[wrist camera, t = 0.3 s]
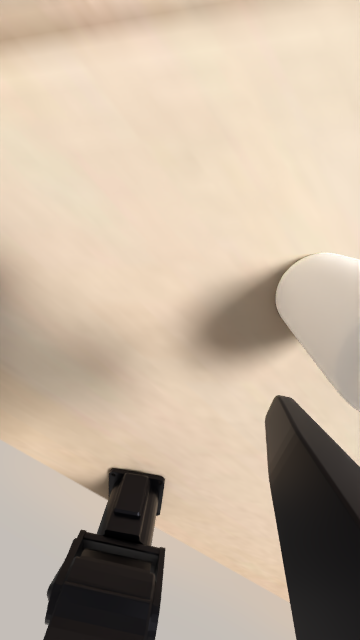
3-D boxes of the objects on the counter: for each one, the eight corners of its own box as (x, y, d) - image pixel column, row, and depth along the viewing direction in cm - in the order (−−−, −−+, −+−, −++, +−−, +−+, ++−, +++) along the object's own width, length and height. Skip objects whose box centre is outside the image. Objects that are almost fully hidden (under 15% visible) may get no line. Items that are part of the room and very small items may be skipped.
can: (378, 279, 20) (604, 361, 9) (319, 343, 22) (435, 471, 11) (311, 234, 19) (463, 259, 8) (257, 305, 21) (314, 401, 10)
